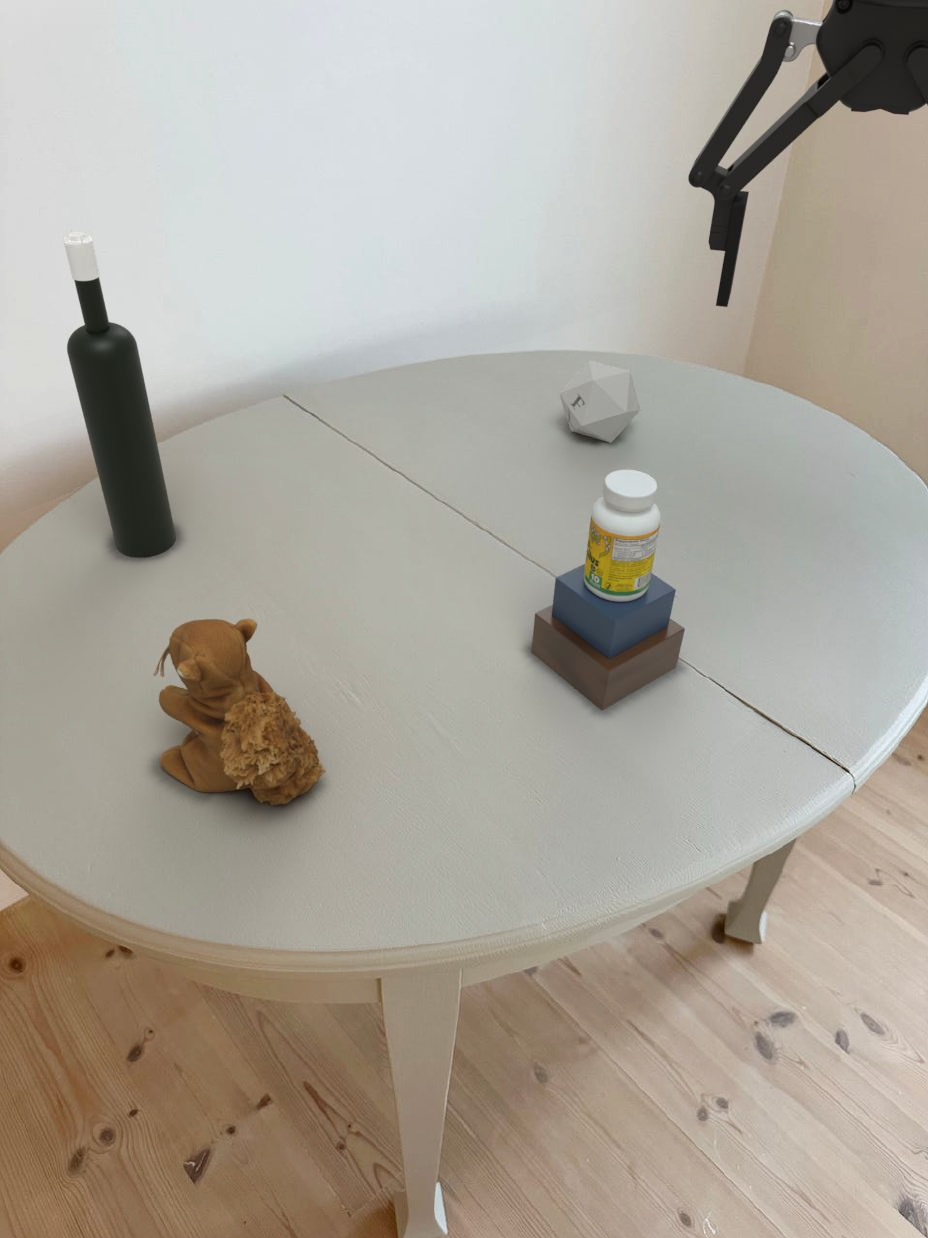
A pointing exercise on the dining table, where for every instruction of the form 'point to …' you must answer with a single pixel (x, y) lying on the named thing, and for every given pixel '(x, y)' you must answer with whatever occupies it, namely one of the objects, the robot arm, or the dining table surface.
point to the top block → (611, 613)
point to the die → (600, 401)
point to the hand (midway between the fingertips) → (828, 310)
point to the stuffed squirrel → (232, 718)
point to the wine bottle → (117, 415)
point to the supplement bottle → (623, 537)
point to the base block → (604, 659)
